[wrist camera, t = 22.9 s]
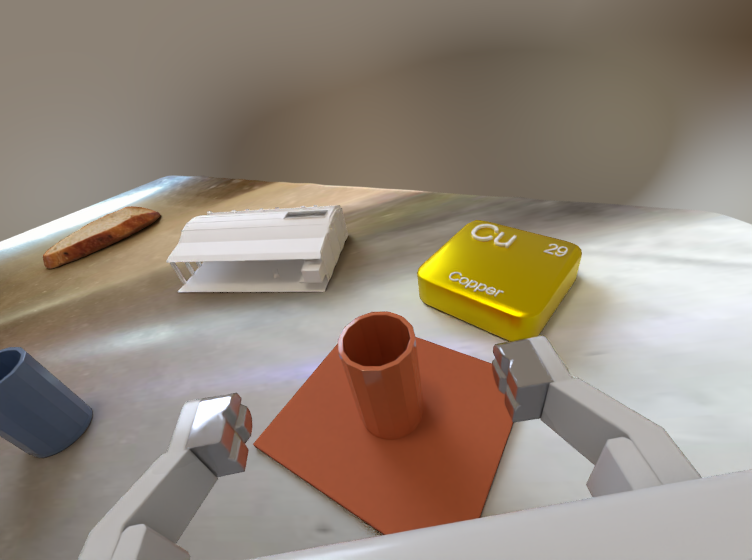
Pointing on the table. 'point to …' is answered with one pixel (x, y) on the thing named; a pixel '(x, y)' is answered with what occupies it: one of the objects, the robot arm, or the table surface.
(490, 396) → the terracotta mat
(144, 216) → the bread slice
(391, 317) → the terracotta cup
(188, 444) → the robot arm
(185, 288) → the model shed
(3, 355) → the blue cup
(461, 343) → the table surface
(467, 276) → the element tile
